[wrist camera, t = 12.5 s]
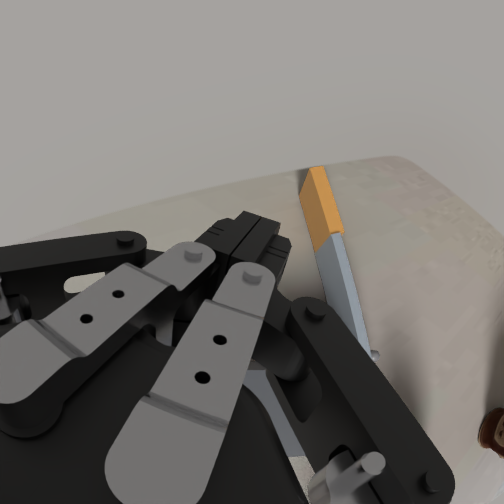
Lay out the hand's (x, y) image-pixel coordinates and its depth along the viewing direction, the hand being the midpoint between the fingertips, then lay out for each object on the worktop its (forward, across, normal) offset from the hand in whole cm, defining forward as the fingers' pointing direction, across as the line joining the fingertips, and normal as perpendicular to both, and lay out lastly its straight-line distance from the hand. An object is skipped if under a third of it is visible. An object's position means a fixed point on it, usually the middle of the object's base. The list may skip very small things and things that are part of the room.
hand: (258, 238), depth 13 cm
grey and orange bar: (+20, +5, -12) cm, 24 cm away
